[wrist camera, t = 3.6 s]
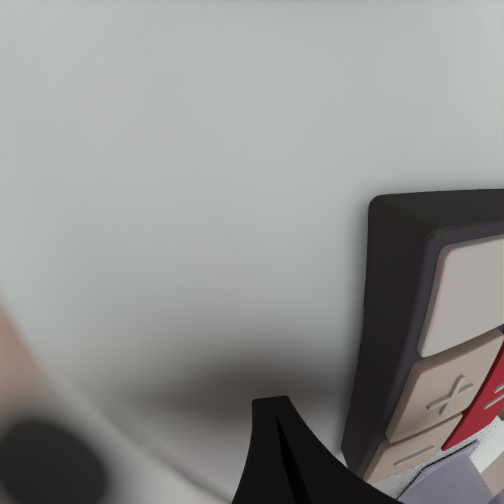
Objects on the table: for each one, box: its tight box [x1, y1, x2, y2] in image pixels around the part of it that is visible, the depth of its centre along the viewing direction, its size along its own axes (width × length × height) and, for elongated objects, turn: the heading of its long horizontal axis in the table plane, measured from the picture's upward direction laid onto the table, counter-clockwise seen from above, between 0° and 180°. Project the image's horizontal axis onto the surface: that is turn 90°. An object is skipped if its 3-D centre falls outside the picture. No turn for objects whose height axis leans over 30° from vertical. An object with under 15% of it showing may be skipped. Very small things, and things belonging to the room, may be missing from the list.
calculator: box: [341, 189, 504, 484], centre depth 11 cm, size 11×4×15 cm
